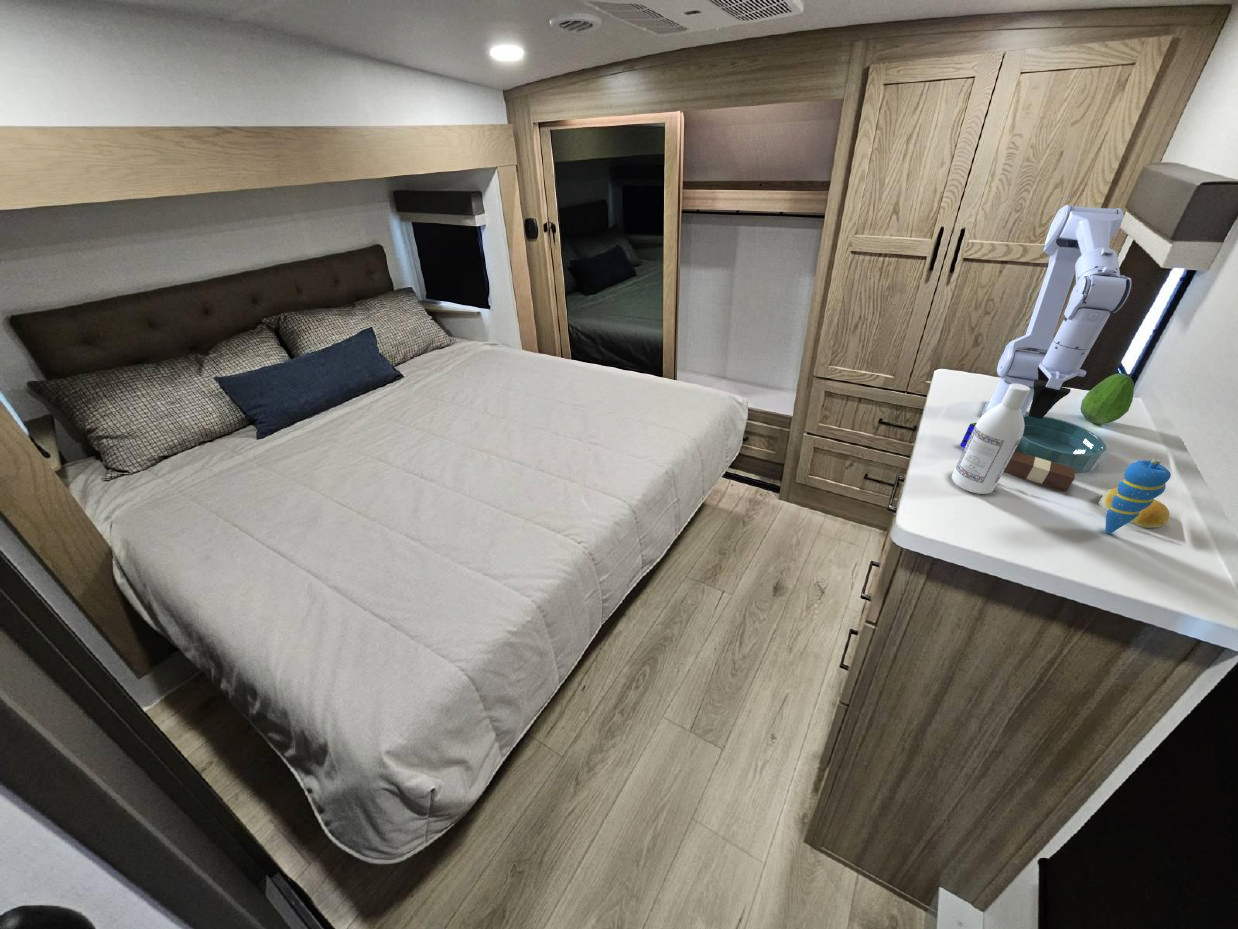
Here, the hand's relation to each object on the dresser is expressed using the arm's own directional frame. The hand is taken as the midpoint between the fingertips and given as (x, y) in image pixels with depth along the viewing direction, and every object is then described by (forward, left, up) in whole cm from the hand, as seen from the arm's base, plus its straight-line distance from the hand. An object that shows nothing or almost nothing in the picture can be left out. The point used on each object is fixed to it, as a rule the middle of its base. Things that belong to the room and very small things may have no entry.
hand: (1036, 410), depth 102 cm
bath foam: (+20, -5, -10) cm, 23 cm away
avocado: (-27, +13, -10) cm, 31 cm away
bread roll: (+12, +18, -10) cm, 24 cm away
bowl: (-3, +5, -9) cm, 11 cm away
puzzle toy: (+6, -6, -10) cm, 12 cm away
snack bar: (+10, +4, -9) cm, 14 cm away
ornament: (+21, +15, -10) cm, 28 cm away
